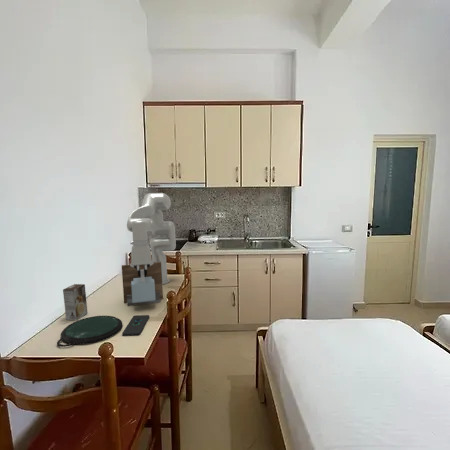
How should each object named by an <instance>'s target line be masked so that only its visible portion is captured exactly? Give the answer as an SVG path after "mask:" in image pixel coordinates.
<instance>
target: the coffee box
mask: <svg viewBox="0 0 450 450" xmlns="http://www.w3.org/2000/svg"><path fill="white" fill-rule="evenodd" d="M62 293H63V303H64V310H65V312H64V313H65V320H66V321H78V320H80V319H81V318H82V317H84V316H86V315H87V314H88V305H87V303H88V302H87V293H86V284H83V283H80V284H79V283H78V284H77V283H76V284H75V283H74V284H71V285H70V286H67V287H66V288H64V289H62Z"/></svg>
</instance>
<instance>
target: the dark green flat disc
mask: <svg viewBox="0 0 450 450" xmlns="http://www.w3.org/2000/svg"><path fill="white" fill-rule="evenodd" d="M122 328H123V321H122V319H120V318H118V317H116V316H114V315H113V316H112V315H94V316H89V317H84V318H82V319H81V318H80V319H78V320H75V321H73V322H72V323H70V324H68V325H67V326H66V327H64V328H63V330H62V331H61V333H60V338H59V339H58V340H57V342H56V345H57V346H58V347H61V348H62V347H63V348H66V347H71V346H73V345H89V344H94V343H98V342H102V341H105V340H107V339H109V338H112V337H114V336H115V335H117V334H118V333H119V332H120V331H121V330H122ZM61 341H63V342H64V343H67V344H61V343H60V342H61Z"/></svg>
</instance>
